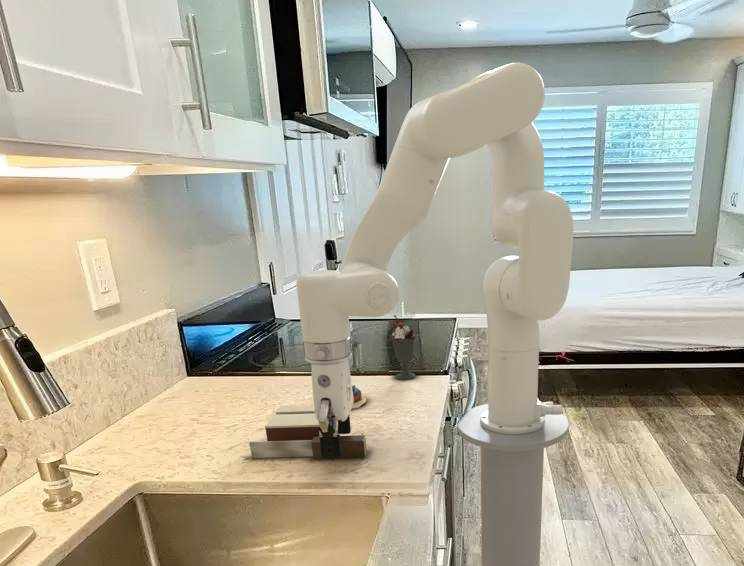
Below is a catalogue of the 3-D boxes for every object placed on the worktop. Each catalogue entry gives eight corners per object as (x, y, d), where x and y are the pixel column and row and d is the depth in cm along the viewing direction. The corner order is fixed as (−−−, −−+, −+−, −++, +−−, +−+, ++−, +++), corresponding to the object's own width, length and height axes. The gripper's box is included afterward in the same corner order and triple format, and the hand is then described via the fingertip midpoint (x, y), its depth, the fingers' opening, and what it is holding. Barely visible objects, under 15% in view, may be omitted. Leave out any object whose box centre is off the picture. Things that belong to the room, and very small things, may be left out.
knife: (367, 451, 101) (365, 434, 99) (365, 457, 98) (363, 440, 97) (254, 454, 101) (251, 438, 100) (250, 460, 99) (246, 444, 97)
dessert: (356, 408, 118) (340, 384, 118) (335, 422, 121) (320, 399, 121) (375, 398, 125) (360, 375, 125) (355, 411, 128) (340, 389, 128)
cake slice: (334, 425, 112) (331, 403, 110) (331, 432, 109) (328, 410, 107) (283, 427, 112) (280, 405, 110) (278, 434, 109) (275, 412, 107)
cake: (329, 435, 108) (327, 412, 106) (324, 448, 102) (321, 424, 101) (277, 436, 108) (273, 414, 106) (268, 449, 103) (264, 426, 101)
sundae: (391, 373, 142) (387, 313, 136) (418, 371, 142) (415, 311, 137) (391, 381, 136) (387, 319, 130) (419, 379, 136) (416, 317, 130)
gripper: (341, 364, 84) (350, 467, 91) (358, 335, 100) (365, 424, 107) (291, 365, 84) (303, 468, 91) (316, 336, 100) (325, 425, 107)
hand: (337, 444), depth 99 cm, fingers open, 9 cm apart
